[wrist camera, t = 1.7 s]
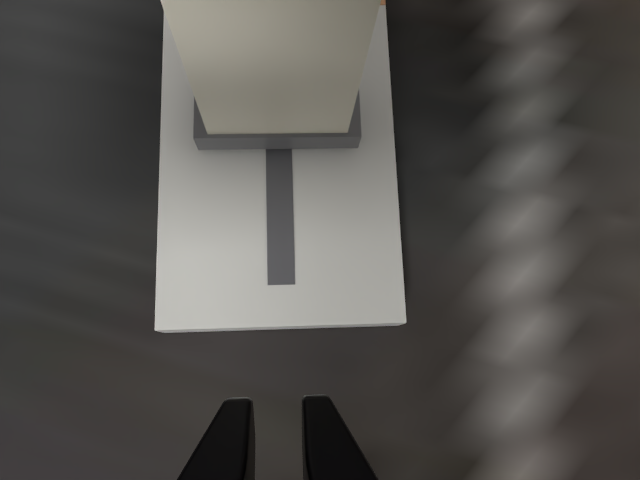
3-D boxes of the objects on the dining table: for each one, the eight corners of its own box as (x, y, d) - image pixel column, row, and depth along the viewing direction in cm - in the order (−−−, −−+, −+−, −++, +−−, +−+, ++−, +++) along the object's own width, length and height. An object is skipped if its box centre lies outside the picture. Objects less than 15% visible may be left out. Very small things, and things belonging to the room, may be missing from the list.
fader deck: (398, 325, 22) (406, 322, 20) (163, 332, 21) (154, 330, 20) (377, -14, 25) (382, -38, 24) (172, -15, 25) (165, -40, 23)
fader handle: (357, 148, 21) (428, -74, 11) (198, 149, 21) (102, -79, 10) (354, 80, 22) (417, -196, 11) (199, 81, 22) (109, -203, 11)
